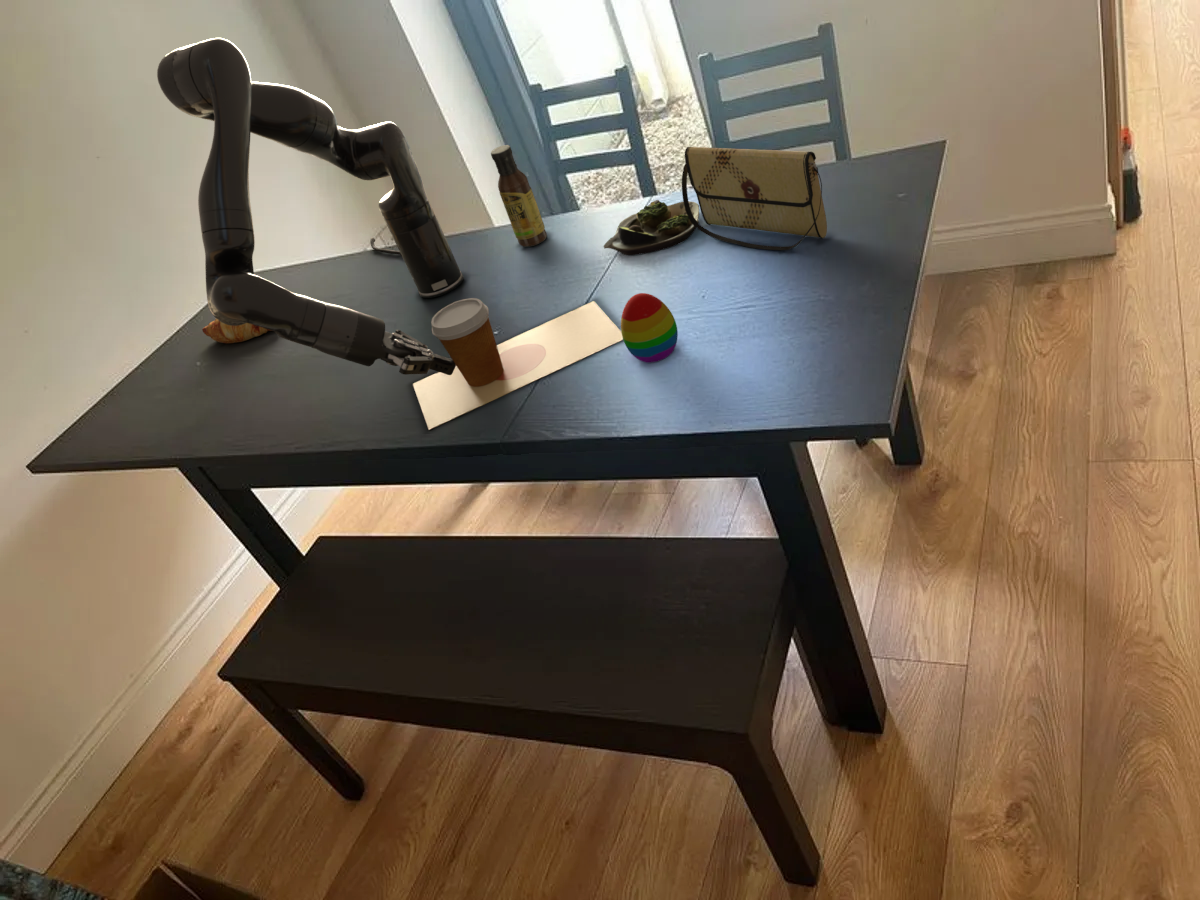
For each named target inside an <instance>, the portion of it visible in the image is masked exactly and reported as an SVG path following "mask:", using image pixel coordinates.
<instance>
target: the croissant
mask: <svg viewBox="0 0 1200 900" xmlns="http://www.w3.org/2000/svg"><path fill="white" fill-rule="evenodd" d="M201 330H202V333H203V334H204V335H205V336H206V337H209V338H211V340H213V341H215V342H217V343H223V344H234V343H243V342H245V341H248V340H251V339H254V338H255V337H259V336H262V335H264V334H267V332H271V331H272V330H268V329H265V328H262V327H259V326H256V325H253V324H249V323H245V324H243V325H239V326H231V325H227V324H224V323H222V322H220V321H219V320H218V319H216V318H215V319H214V320H213V321H211V322H209V323H208V325H206V326H203V328H202V329H201ZM272 332H273V331H272Z"/></svg>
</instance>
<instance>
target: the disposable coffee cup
mask: <svg viewBox="0 0 1200 900" xmlns="http://www.w3.org/2000/svg"><path fill="white" fill-rule="evenodd" d="M489 311H490V309H489V307H488V305H486V304H485V303H484V302H483V301H482V300H481V299H479V298H476V297H469V298H468V297H467V298H463V299H460V300H456V301H454V302H451V303H449V304H448V305H446V306H444V307H442V308H441V309H440V310H438V311H437V312H436V313H435V314H434V315H433V316H432V318H431V320H430V323H431V333H432V335H433V336H434V337H436V339H438V340H439V342H440V343H441V345H442V346H443V348H444V349H445V351H446V352H447V354H448V355H449V358H450V359H452V360H453V361H454V363H455V364H456V366H457V367H458V369H459V371H460V372H461V374H462V375H463V377H464V378H465V380H466V381H467V383H468V384H469V385H470V386H473V387H479V386H484V385H487V384H489V383H491V382H493V381H495V380H496V379H497V378H499V377H500V376H501V374H502V373H503V370H504V369H503V365H502V362H501V358H500V355H499V352H498V348H497V345H498V344H497V341H496V338H495V335H494V332H493V331H494V330H493V328H492V325H491V321H490V318H489V316H490V314H489V313H490V312H489Z"/></svg>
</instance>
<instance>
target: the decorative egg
mask: <svg viewBox="0 0 1200 900" xmlns="http://www.w3.org/2000/svg"><path fill="white" fill-rule="evenodd" d="M620 331H621V332H622V337H623V340H622V341H623V344H624V345H625V347H626V349H627V350H628V352H629V353H630V354H631V355H632V356H633V357H634V358H635V359H637V360H639V362H643V363H648V364H649V363H650V364H651V363H656V362H659V361H662V360H665V359H666V358H668V357H669V356H671V355H672V354H673V352H674V350H675V348H676V346H677V343H678V338H679V337H678V335H679V334H678V331H679V330H678V325H677V322H676V319H675V317H674V315H673V313H672V311H671V309H670V308H669V307H668V306H667V305H666V303H664V302H663V301H662V300H661V299H660V298H658V297H657V296H655V295H652V294H650V293H646V292H639V293H636V294H634V295H633V296H631V297H630V298H629V299H628V300H627V301H626V303H625V305H624V307H623V310H622V314H621V319H620Z"/></svg>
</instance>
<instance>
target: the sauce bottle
mask: <svg viewBox="0 0 1200 900" xmlns="http://www.w3.org/2000/svg"><path fill="white" fill-rule="evenodd" d="M490 155H491V159H492V160H493V162H494V164H495V168H496V170H497V173H498V175H499V177H498V180H497V188H498V191H499V196H500V198H501V201H502V204H503V207H504V209H505V211H506V214H507V217H508V219H509V222H510V225H511V228H512V231H513V233H514V236H515V238H516V239H517V242H518V244H519V245H520V246H521V247H523V248H530V247H535V246H537V245H539V244H541V243H543V242H544V241H545V240H546V239H547V237H548V232H547V231H546V229H545V228H546V226H545V224H544V221H543V218H542V215H541V213H540V210H539V206H538V203H537V201H536V198H535V196H534V195H535V194H534V192H533V190H532V187H531V185H530V183H529V180H528V177H527V175H526V174H525V173H524V172H522V171H521V170H520V169H519V168H518V165H517V164H516V161H515V158H514V156H513V150H512V147H511V145H510V144H506V145H505V144H504V145H500V146H498V147H495V148H494V149H492V150H491V151H490Z"/></svg>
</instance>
